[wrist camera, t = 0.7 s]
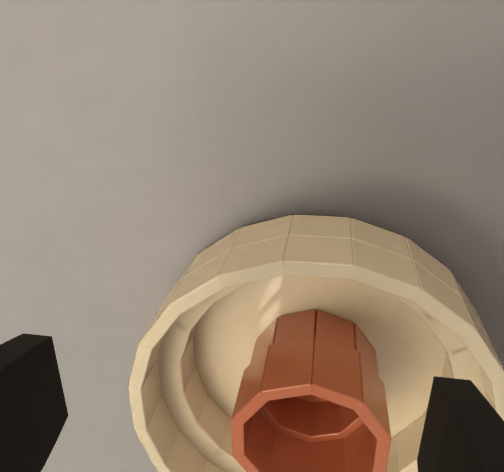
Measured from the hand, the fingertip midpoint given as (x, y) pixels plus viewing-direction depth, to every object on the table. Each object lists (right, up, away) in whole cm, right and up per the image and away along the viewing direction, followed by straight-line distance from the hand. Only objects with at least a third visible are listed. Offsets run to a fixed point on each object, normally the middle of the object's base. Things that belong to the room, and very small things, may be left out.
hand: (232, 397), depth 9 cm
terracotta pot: (+3, -2, +11) cm, 11 cm away
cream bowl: (+3, -2, +11) cm, 12 cm away
